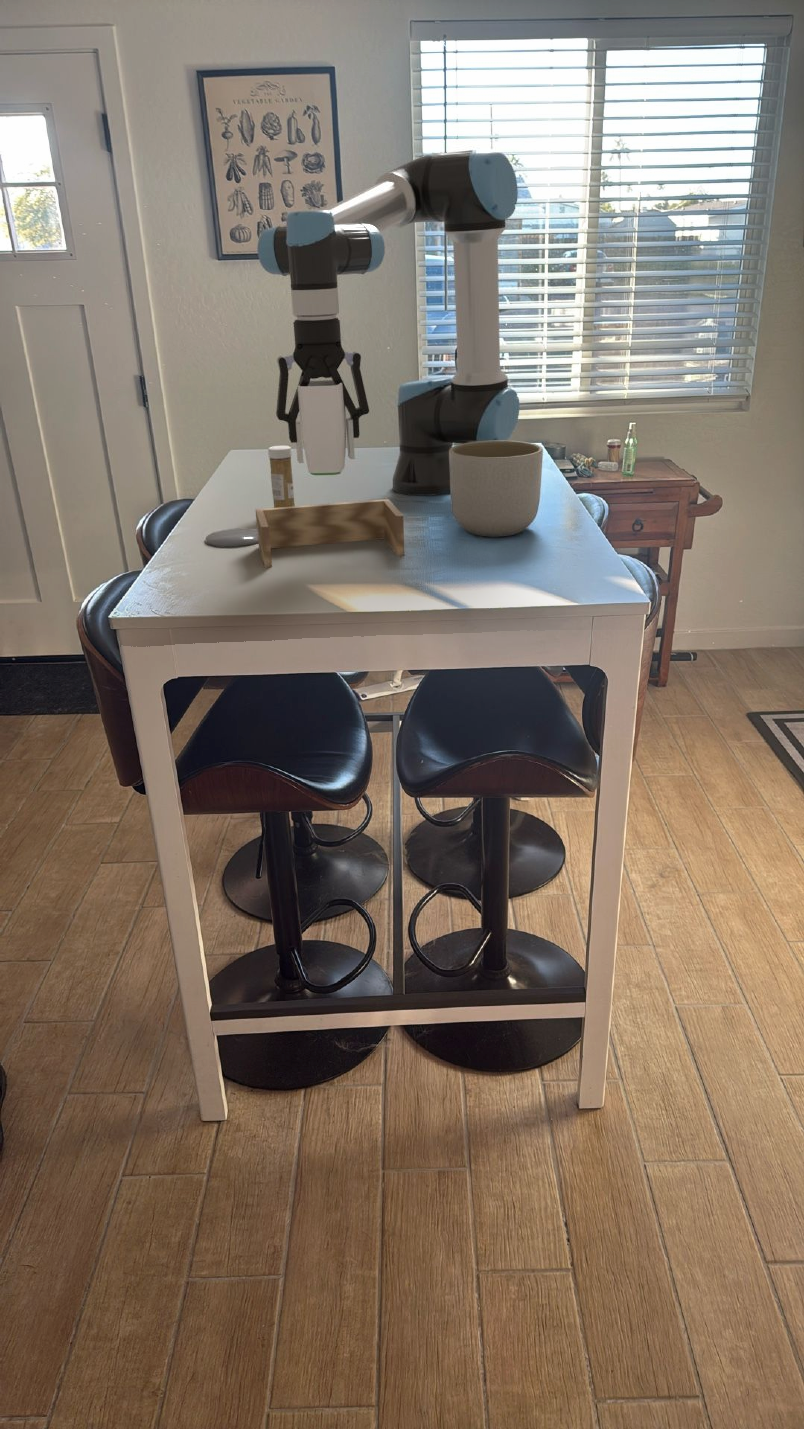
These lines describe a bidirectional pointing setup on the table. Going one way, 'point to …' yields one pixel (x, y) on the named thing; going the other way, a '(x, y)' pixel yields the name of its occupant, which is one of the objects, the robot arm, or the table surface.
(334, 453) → the cup
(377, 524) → the wooden stand
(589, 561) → the table surface
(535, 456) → the planter
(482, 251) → the robot arm
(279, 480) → the sprinkles bottle
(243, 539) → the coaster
